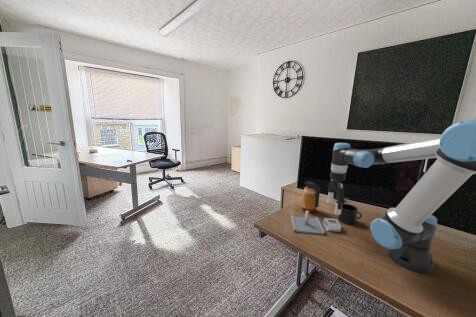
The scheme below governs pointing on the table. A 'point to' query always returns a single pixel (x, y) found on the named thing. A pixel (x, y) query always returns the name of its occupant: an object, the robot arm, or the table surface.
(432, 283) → the table surface
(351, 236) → the table surface
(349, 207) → the mug
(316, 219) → the keeper plate
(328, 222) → the square frame
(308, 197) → the canister
